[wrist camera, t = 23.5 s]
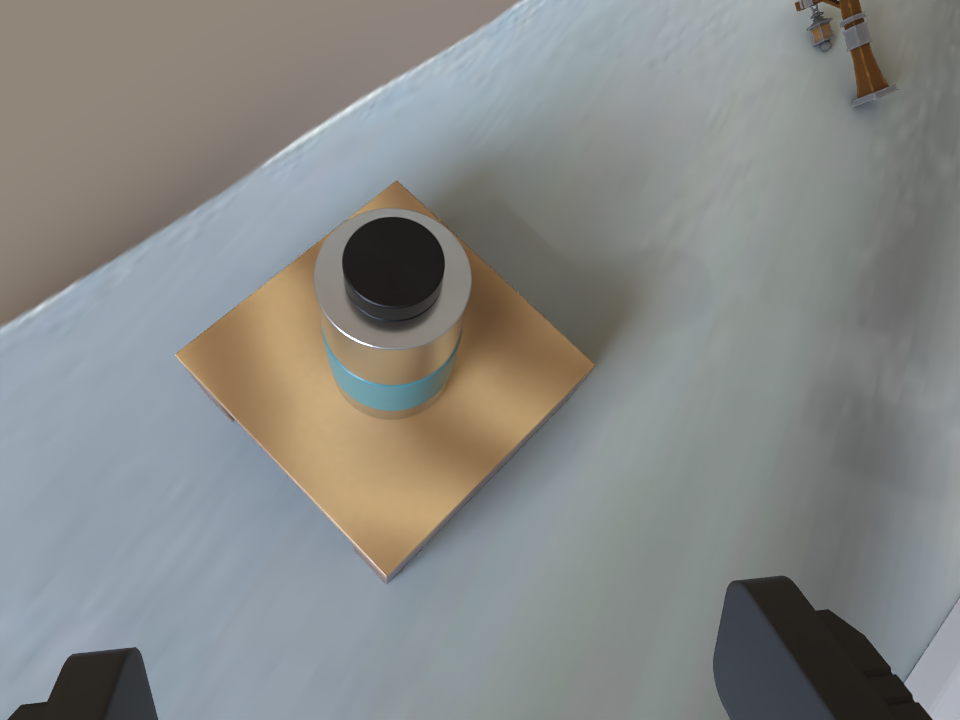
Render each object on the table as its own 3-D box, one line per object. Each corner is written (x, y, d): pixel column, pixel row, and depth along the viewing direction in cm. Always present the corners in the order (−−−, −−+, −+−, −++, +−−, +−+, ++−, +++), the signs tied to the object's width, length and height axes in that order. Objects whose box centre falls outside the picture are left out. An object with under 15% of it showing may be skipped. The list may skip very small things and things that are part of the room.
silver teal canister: (394, 285, 31) (396, 159, 23) (477, 365, 30) (511, 265, 22) (304, 361, 30) (272, 255, 21) (390, 447, 29) (391, 373, 20)
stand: (395, 235, 38) (396, 179, 33) (568, 399, 36) (596, 364, 31) (203, 392, 34) (174, 354, 29) (386, 584, 32) (386, 577, 27)
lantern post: (805, -16, 46) (862, -52, 41) (842, 110, 47) (902, 88, 43) (782, -9, 45) (837, -44, 41) (820, 119, 46) (878, 97, 42)
